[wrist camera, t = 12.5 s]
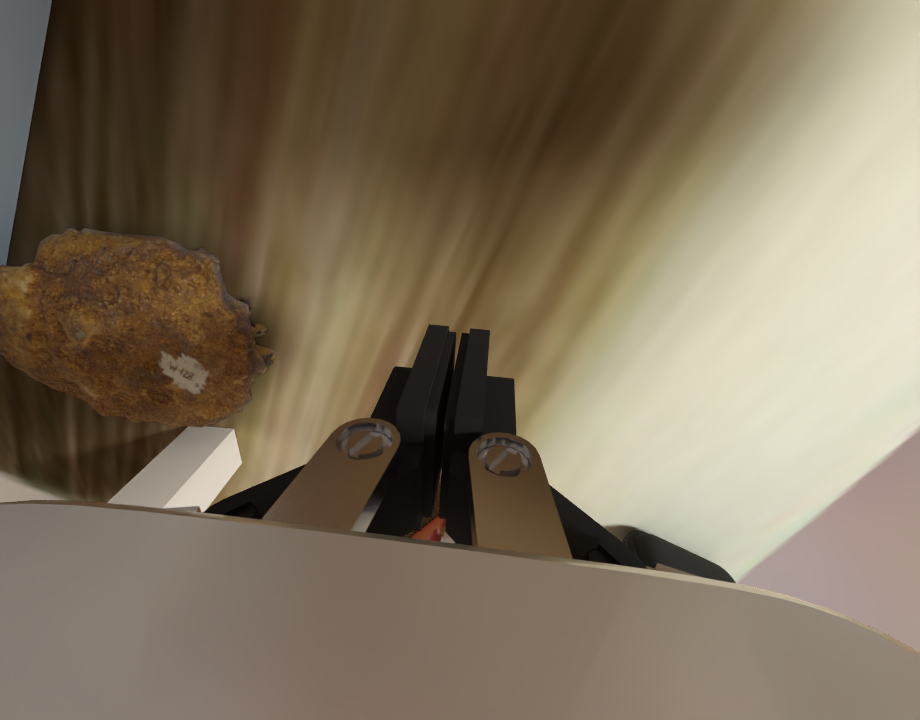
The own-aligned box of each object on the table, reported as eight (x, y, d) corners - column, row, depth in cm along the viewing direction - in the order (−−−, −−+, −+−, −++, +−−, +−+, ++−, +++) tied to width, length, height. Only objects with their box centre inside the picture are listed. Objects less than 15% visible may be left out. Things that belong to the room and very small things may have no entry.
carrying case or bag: (743, 565, 31) (933, 868, 18) (714, 587, 32) (871, 884, 19) (630, 512, 29) (751, 807, 16) (604, 537, 30) (695, 829, 17)
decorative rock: (77, 396, 28) (296, 397, 28) (20, 437, 24) (270, 438, 24) (-25, 223, 22) (251, 222, 22) (-120, 242, 18) (209, 242, 18)
